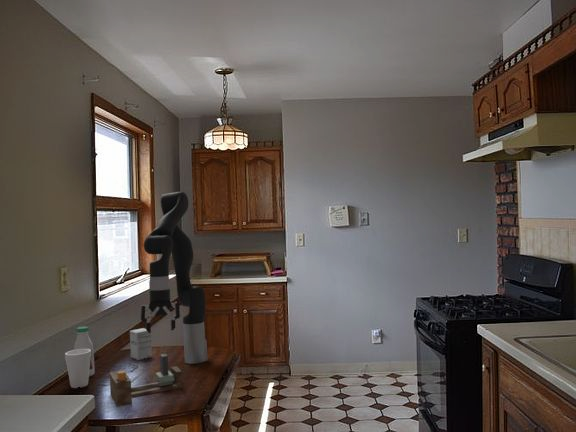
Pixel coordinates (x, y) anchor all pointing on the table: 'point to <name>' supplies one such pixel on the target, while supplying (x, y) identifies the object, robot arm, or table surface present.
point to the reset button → (121, 376)
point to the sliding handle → (164, 372)
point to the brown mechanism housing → (139, 387)
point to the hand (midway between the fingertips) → (160, 331)
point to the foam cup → (78, 367)
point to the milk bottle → (85, 345)
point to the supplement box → (140, 344)
